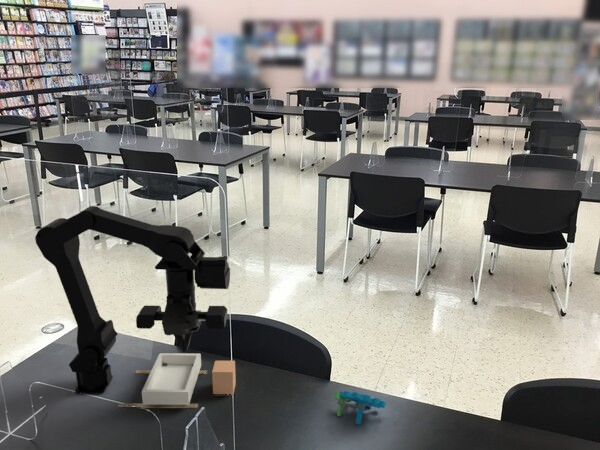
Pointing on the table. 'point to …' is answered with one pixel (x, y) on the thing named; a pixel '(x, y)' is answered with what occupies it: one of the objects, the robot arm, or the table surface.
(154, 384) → the white open storage bin
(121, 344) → the table surface
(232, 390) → the part block
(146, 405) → the track
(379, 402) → the toy construction assembly
